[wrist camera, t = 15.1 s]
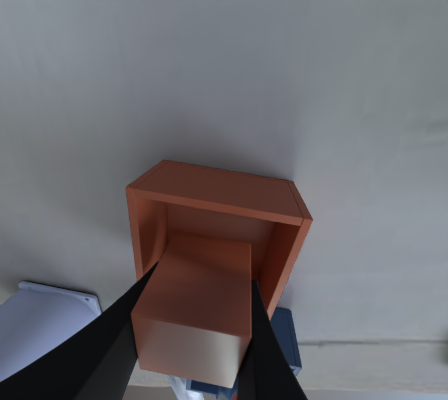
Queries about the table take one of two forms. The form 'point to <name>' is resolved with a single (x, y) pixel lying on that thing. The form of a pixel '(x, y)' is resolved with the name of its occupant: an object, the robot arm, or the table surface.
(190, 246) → the block
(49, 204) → the table surface
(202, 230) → the terracotta bin
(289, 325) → the slate bin
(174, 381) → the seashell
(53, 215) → the table surface
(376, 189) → the table surface
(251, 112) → the table surface
